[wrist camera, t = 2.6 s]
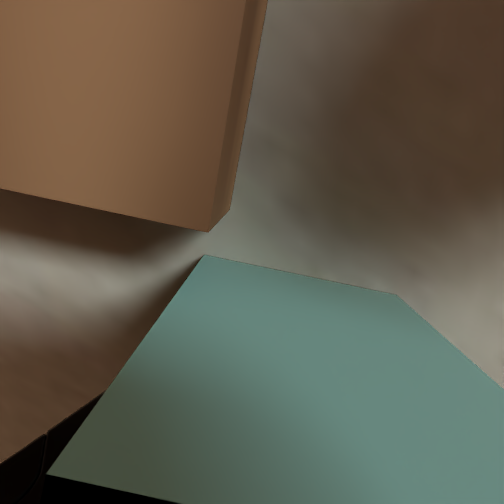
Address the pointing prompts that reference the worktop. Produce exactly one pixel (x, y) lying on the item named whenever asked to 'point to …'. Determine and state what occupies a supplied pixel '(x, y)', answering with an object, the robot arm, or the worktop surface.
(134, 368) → the teal block
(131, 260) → the worktop surface
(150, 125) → the walnut base
